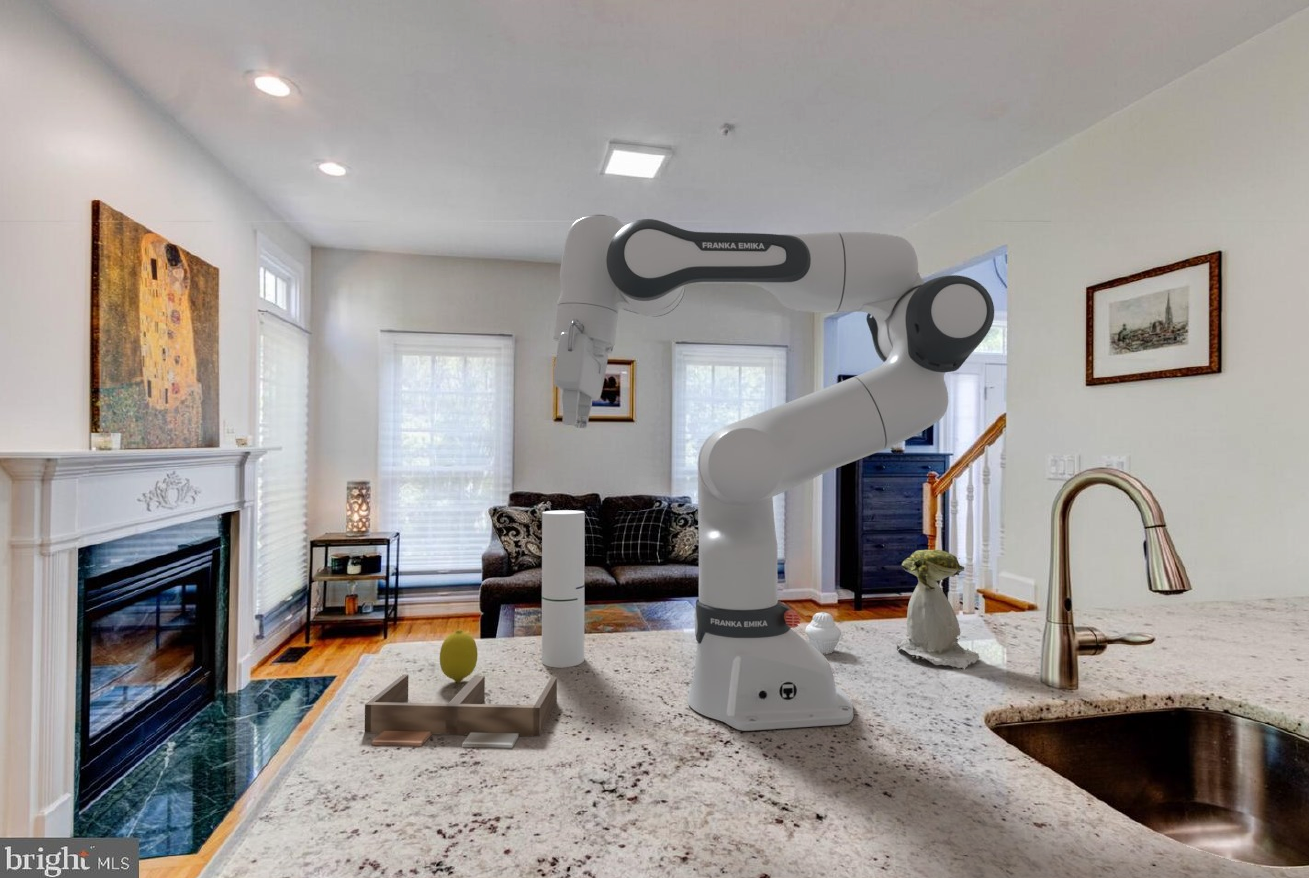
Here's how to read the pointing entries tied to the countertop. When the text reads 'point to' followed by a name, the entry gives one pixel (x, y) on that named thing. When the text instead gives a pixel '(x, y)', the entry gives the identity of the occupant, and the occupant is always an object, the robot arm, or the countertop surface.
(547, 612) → the cylindrical container
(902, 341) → the robot arm
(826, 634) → the muffin
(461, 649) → the lemon
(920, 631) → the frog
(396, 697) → the bay rack
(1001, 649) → the countertop surface
